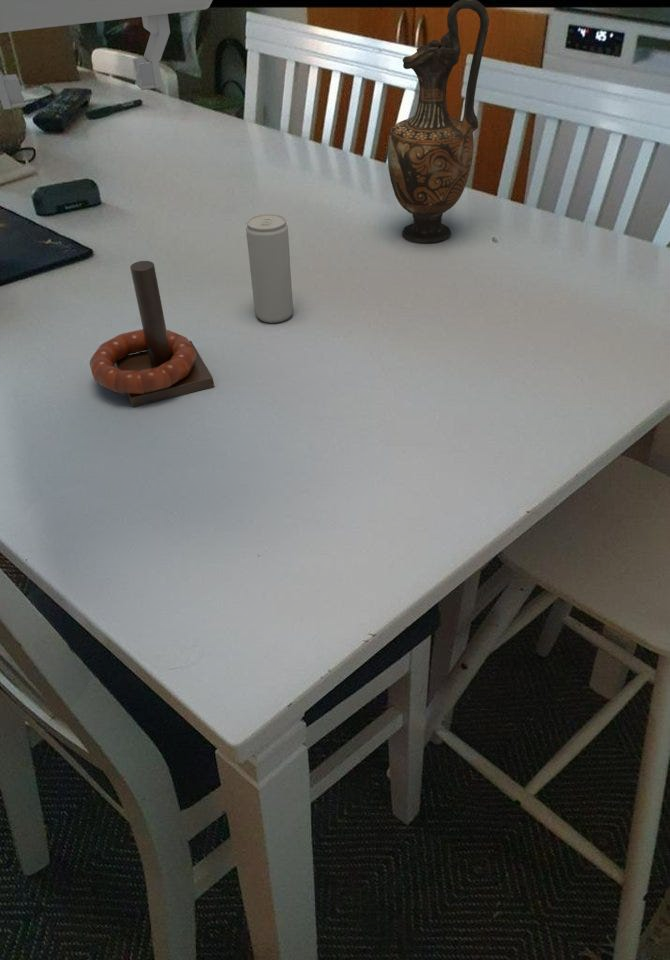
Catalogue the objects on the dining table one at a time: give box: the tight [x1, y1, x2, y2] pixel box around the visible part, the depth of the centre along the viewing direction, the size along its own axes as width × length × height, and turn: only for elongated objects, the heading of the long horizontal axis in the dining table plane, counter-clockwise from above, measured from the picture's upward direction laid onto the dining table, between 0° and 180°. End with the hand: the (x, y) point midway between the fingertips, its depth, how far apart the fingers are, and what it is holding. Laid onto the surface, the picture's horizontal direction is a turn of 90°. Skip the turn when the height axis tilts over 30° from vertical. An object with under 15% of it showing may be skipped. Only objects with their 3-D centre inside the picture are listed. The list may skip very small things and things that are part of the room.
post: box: [114, 260, 215, 408], centre depth 86 cm, size 9×9×13 cm
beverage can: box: [245, 213, 294, 324], centre depth 97 cm, size 5×5×12 cm
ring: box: [89, 328, 196, 394], centre depth 88 cm, size 11×11×2 cm
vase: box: [386, 0, 490, 244], centre depth 108 cm, size 12×12×30 cm
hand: (83, 96), depth 57 cm, fingers open, 8 cm apart
